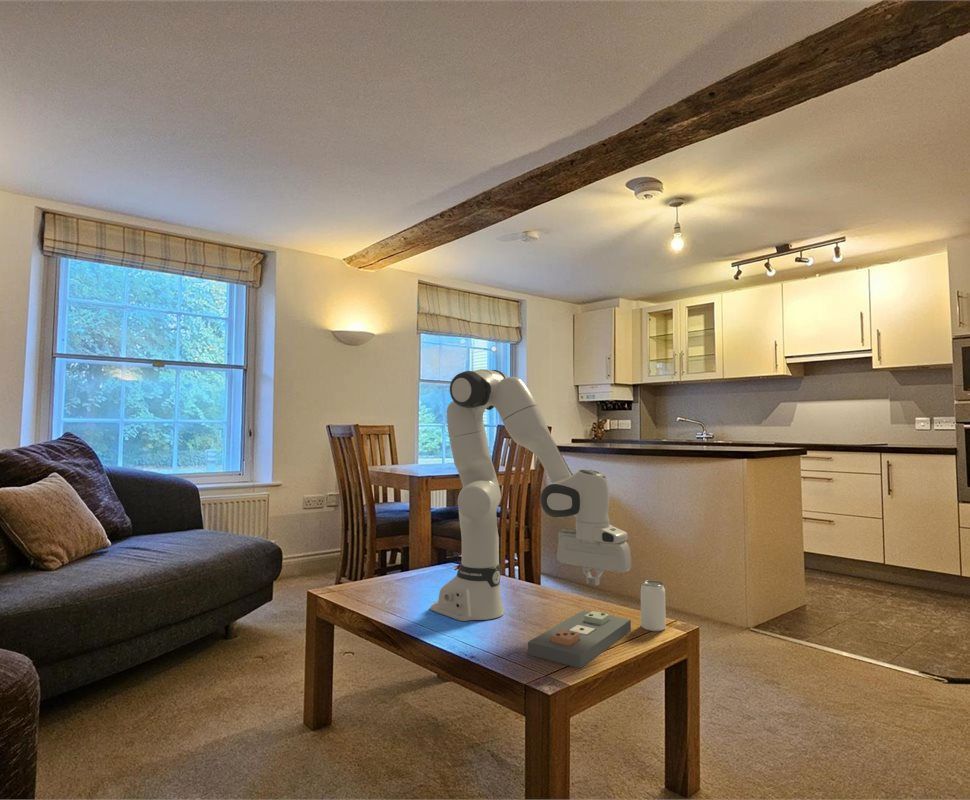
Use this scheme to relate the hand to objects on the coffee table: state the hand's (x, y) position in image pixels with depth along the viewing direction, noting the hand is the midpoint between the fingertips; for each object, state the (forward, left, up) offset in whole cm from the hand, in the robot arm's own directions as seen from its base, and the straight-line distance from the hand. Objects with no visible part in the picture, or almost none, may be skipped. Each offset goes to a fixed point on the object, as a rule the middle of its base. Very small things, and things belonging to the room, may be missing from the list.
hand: (593, 584), depth 156 cm
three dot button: (0, -16, -12) cm, 19 cm away
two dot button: (0, +2, -12) cm, 12 cm away
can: (+11, +14, -13) cm, 22 cm away
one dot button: (0, -7, -13) cm, 15 cm away
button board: (0, -7, -13) cm, 15 cm away
